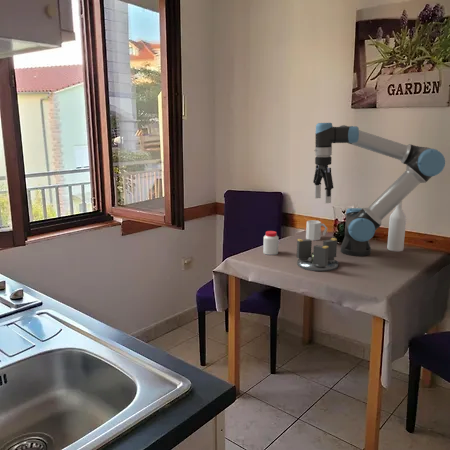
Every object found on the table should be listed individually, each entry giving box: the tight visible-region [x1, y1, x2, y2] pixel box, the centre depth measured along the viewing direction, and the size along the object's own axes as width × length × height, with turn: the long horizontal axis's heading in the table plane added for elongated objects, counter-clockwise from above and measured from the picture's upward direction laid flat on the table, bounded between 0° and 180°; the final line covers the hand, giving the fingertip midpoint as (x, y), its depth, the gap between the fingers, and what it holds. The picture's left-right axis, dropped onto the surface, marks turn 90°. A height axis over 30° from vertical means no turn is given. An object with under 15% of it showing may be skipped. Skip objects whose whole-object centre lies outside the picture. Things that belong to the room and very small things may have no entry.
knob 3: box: [322, 237, 338, 260], centre depth 219 cm, size 6×4×10 cm
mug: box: [305, 219, 328, 241], centre depth 261 cm, size 12×9×10 cm
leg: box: [313, 244, 329, 268], centre depth 209 cm, size 6×4×10 cm
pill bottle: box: [262, 230, 280, 256], centre depth 235 cm, size 8×8×11 cm
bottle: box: [386, 200, 407, 252], centre depth 237 cm, size 8×8×30 cm
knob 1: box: [296, 238, 313, 260], centre depth 219 cm, size 6×4×10 cm
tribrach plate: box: [297, 251, 339, 272], centre depth 216 cm, size 19×19×7 cm
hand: (322, 200), depth 220 cm, fingers open, 13 cm apart
